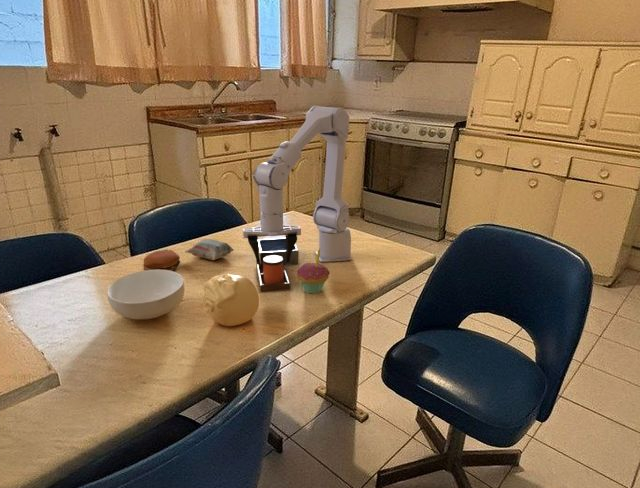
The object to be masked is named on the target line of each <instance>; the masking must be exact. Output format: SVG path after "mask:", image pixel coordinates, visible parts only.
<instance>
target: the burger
mask: <svg viewBox="0 0 640 488" xmlns="http://www.w3.org/2000/svg"><path fill="white" fill-rule="evenodd" d="M180 259H181V256H180V254H178V253H177V252H175V251H174V250H172V249H161V250H156V251H153V252H150V253H148V254H147V255H146V256H145V257H144V259H143V271H146V270H169V271H174V270H175V269H177V268H178V267H179V265H180V264H181V261H180Z"/></svg>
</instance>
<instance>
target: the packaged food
mask: <svg viewBox="0 0 640 488" xmlns="http://www.w3.org/2000/svg"><path fill="white" fill-rule="evenodd" d="M233 251H235V249H234V248H233V246H231V245H230V244H228V243H227V242H224V241H220V240H216V239H213V238H204V239H202V240H200V241H198V242H197V243H195V244H194V245H193V246H192V247H190V248H189V249H187V250H185V251H184V252H185V253H188V254H191V255H192V256H194V257H199V258H203V259H206V260H210V261H215V260H219V259H221V258H223V257H224V256H227V255H229V254H230V253H231V252H233Z"/></svg>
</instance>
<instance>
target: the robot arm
mask: <svg viewBox="0 0 640 488" xmlns="http://www.w3.org/2000/svg"><path fill="white" fill-rule="evenodd" d="M349 125H350V115H349V114H348V112H347V110H346V109H345V108H344V107H330V106H319V105H313V106H312V107H310V109H309V110H308V111H307V112H306V113H305V121H304V122H303V124H302V125H301V127H299V129H298V131H297V132H296V133H295V135H294V136H293V137H292V139H291V140H290V141H284V142H281V143H280V144H279V145H278V148H277V149H276V150H275V152H273V153H272V155H271V156H269V158H268V160H267V161H266V162H265V161H264V162H261V163H259V164H258V165H257V166H256V168H255V169H254V174H253V175H252V178H253V182H254V183H255V185H256V189H257V192H258V195H259V218H260V219H259V220H260V221H259V223H260V225H259V226H254V227H249V228H242V237H243V239H247V242H248V244H249V246H250V248H251V250H252V252H253V254H254V257H255V261H256V265H257V264H260V259H259V243H258V239H259V238H260V237H278V236H285V238H286V261H287V262H290V256H291V253H292V250H293V247H294V245H295V244H296V245H297V242H298V236H301V235H302V227H301V225H286V224H285V225H284V195H283V194H284V192H283V188H284V187H285V186H286V185H287V182H288V179H289V176H290V174H291V171H292V169H293V168H294V167H295V166H296V164H297V163H298V162H299V161H300V160H301V158H302V151H303V150H304V148H305V147H307V145H308V144H309V143H310V142H311V141H312V140H313V139H314V138H315V137H316V136H318V134H319V135H320V136H322V138H323V139H324V140H325V141H326V154H325V164H324V180H323V192H322V197H321V198H319V199H318V200H317V201H316V202H315V209H314V211H313V213H312V220H313V223H314V224H315V225H316V228H317V229H318V250H319V249H320V257H319V263H330V262H342V261H351V260H352V257H351V250H352V234H351V231H350V229H349V228H348V227H349V224H350V218H351V217H350V213H349V207H350V206H349V204H348V203H347V202H346V201H345V200H344V199H343V198H342V194H343V182H344V170H345V159H346V148H347V139H348V137H349ZM318 250H315V255H316V256H317V253H318Z"/></svg>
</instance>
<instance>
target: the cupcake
mask: <svg viewBox="0 0 640 488" xmlns="http://www.w3.org/2000/svg"><path fill="white" fill-rule="evenodd" d="M317 251H318V253H317V255H316V258H315V259H316V260H315V262H306V263H303V264H302V265H300V266H299V267H297V269H296V273H295V274H296V275H295V278H296V279H297V280H298V281H300V283H301V285H302V288H303V290H304V292H306V293H308V294H318V293H321V292H322V291H323V288H324V285H325V283H326V282H327V280H329V277H330V274H331V272H330V270H329V268H327V267H326V266H325V265H324V264H322V263H320V261H319V257H320V249H319V248H318V250H317Z"/></svg>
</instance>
